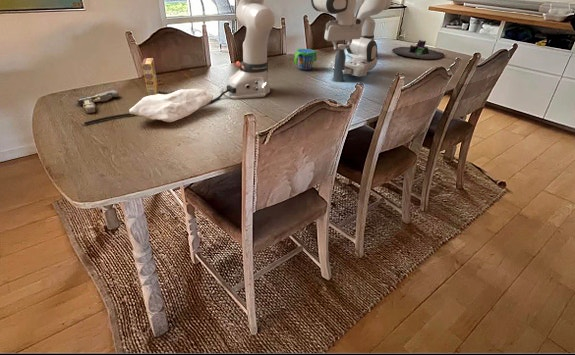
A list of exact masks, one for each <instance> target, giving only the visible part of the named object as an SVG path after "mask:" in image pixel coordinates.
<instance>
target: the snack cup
mask: <svg viewBox="0 0 575 355" xmlns="http://www.w3.org/2000/svg"><path fill="white" fill-rule="evenodd" d="M317 56H318V55H317V52H316V50H314V49H310V48H298V49H296V53H295V55H294V58H293V64H294V65H297V66H298V69H299V70H301V71H309V70H312V67H313V63H314V62H316V61H317V58H318V57H317Z"/></svg>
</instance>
